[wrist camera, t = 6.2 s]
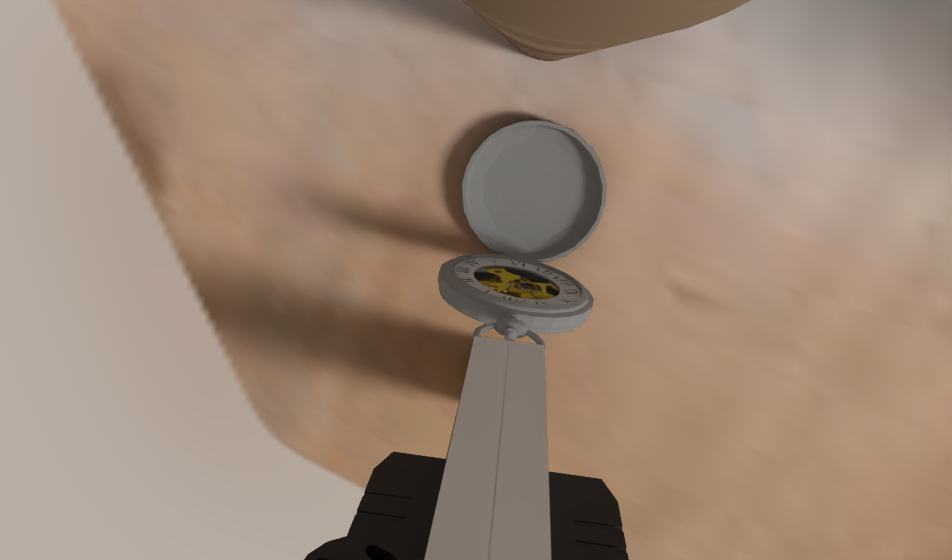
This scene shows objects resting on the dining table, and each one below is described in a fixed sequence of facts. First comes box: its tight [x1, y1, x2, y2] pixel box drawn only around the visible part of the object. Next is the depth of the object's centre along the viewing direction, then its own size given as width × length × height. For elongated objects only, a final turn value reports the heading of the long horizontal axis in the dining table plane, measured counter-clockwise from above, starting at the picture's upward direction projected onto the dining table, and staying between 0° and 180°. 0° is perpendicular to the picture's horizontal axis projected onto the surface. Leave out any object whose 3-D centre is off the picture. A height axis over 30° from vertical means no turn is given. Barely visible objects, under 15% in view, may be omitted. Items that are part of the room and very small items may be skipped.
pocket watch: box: [438, 120, 606, 347], centre depth 25 cm, size 8×8×10 cm
